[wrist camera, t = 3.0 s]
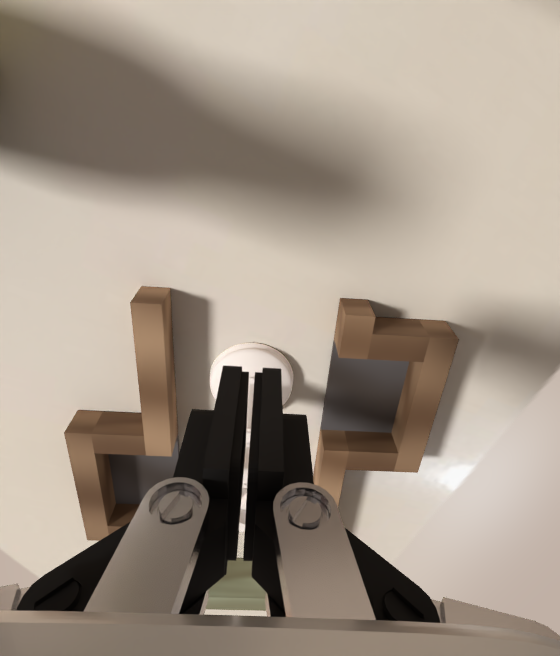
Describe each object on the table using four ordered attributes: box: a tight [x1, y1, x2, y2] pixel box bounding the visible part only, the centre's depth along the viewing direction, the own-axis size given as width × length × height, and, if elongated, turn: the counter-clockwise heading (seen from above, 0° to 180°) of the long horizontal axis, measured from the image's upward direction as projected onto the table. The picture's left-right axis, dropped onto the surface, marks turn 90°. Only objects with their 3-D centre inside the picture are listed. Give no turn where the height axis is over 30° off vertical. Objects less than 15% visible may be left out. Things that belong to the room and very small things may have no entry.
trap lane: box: [64, 286, 459, 611], centre depth 27 cm, size 24×21×3 cm
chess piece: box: [210, 343, 294, 532], centre depth 21 cm, size 5×5×10 cm
